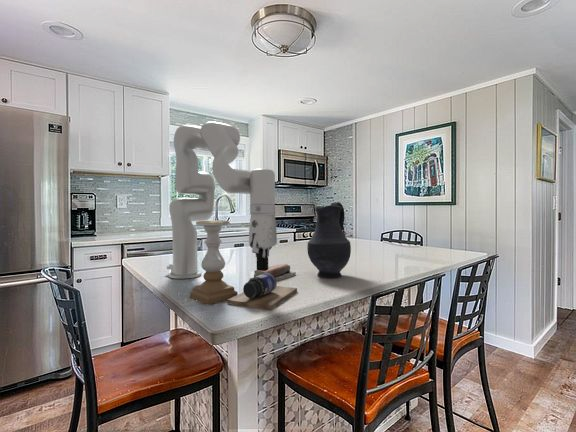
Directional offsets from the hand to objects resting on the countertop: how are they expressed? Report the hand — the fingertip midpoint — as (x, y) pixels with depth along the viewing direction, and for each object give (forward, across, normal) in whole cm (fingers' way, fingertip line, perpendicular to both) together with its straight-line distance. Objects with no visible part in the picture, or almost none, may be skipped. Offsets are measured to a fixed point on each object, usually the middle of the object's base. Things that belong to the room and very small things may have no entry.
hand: (262, 269), depth 98 cm
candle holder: (+9, -4, +15) cm, 18 cm away
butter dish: (+10, +28, +10) cm, 31 cm away
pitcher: (+9, +41, -10) cm, 43 cm away
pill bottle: (+5, +5, 0) cm, 7 cm away
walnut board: (+9, +2, 0) cm, 9 cm away
